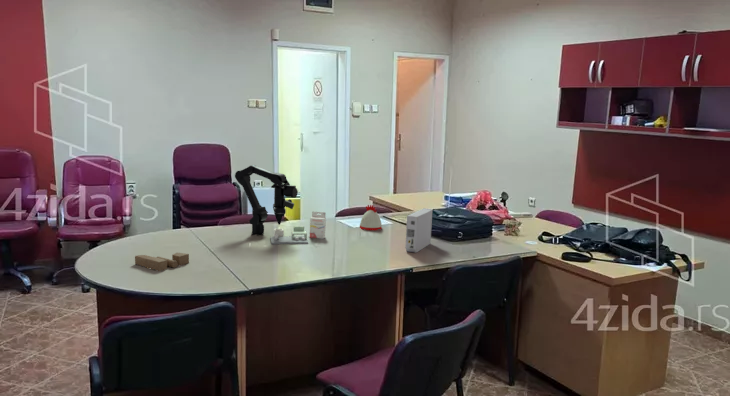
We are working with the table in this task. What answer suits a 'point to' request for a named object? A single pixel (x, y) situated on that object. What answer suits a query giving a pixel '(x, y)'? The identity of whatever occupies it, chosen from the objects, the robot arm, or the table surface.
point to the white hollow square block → (279, 232)
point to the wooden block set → (162, 261)
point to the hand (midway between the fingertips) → (278, 222)
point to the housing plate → (288, 240)
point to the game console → (418, 230)
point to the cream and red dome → (370, 220)
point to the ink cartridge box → (317, 225)
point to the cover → (299, 231)
